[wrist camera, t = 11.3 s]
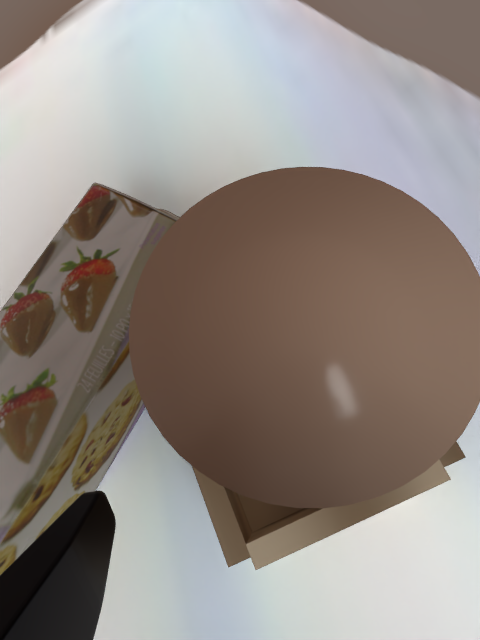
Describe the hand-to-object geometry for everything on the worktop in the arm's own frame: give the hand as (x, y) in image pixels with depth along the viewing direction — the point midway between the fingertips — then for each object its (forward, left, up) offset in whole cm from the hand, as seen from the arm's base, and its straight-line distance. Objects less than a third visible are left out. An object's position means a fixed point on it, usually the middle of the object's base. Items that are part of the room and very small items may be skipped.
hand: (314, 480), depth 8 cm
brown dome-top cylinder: (+1, +2, -8) cm, 8 cm away
